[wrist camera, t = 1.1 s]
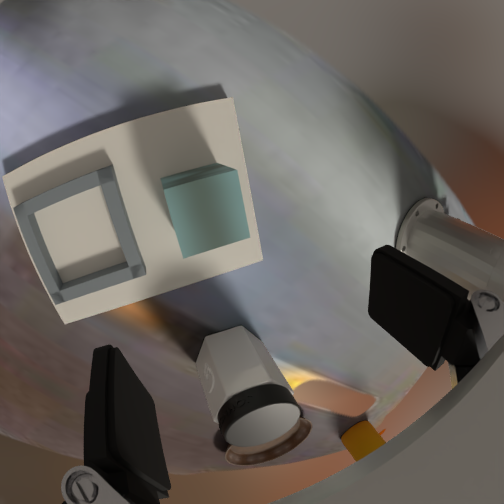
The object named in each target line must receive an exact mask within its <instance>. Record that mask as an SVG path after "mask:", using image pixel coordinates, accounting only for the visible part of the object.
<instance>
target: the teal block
mask: <svg viewBox="0 0 504 504" xmlns="http://www.w3.org/2000/svg"><path fill="white" fill-rule="evenodd" d="M161 182H162V186H163V190H164V194H165V198H166V201H167V205H168V209H169V212H170V216H171V219H172V223H173V226H174V229H175V233H176V236H177V239H178V243H179V246H180V249H181V253H182V256H183V259H184V258H187V257H190V256H194V255H197V254H200V253H203V252H206V251H209V250H212V249H216V248H219V247H222V246H225V245H228V244H231V243H235V242H238V241H241V240H244V239H247V238H250V233H249V228H248V223H247V217H246V212H245V207H244V202H243V197H242V192H241V187H240V182H239V176H238V171H237V170H236V169H234V168H231V167H228V166H225V165H222V164H219V163H214V164H210V165H206V166H202V167H198V168H195V169H191V170H187V171H184V172H180V173H177V174H173V175H170V176H166V177H163V178H161Z"/></svg>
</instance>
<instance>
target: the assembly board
mask: <svg viewBox="0 0 504 504" xmlns="http://www.w3.org/2000/svg"><path fill="white" fill-rule="evenodd" d="M214 163H219V164H222V165H225V166H228V167H231V168H234V169H236V170H237V171H238V176H239V182H240V187H241V192H242V197H243V202H244V207H245V212H246V217H247V223H248V228H249V233H250V238H247V239H244V240H241V241H238V242H235V243H231V244H228V245H225V246H222V247H219V248H216V249H212V250H209V251H206V252H203V253H200V254H197V255H194V256H190V257H187V258H184V259H183V256H182V253H181V249H180V246H179V243H178V239H177V236H176V233H175V229H174V226H173V223H172V219H171V216H170V212H169V209H168V205H167V201H166V198H165V194H164V190H163V186H162V182H161V178H163V177H166V176H170V175H173V174H177V173H180V172H184V171H187V170H191V169H195V168H198V167H202V166H206V165H210V164H214ZM3 181H4V185H5V188H6V192H7V195H8V199H9V202H10V205H11V208H12V211H13V214H14V217H15V220H16V223H17V226H18V228H19V231H20V234H21V236H22V239H23V241H24V244H25V246H26V249H27V251H28V253H29V256H30V258H31V260H32V263H33V265H34V267H35V269H36V271H37V273H38V275H39V278H40V280H41V282H42V284H43V286H44V288H45V290H46V292H47V293H48V295H49V297H50V299H51V301H52V303H53V305H54V306H55V308H56V310H57V312H58V313H59V315H60V317H61V319H62V320H63V322H64V324H67V323H71V322H74V321H77V320H80V319H83V318H87V317H90V316H93V315H96V314H99V313H102V312H106V311H109V310H112V309H115V308H118V307H121V306H125V305H128V304H131V303H134V302H137V301H140V300H143V299H146V298H150V297H153V296H156V295H159V294H162V293H165V292H168V291H171V290H174V289H177V288H180V287H184V286H187V285H190V284H193V283H196V282H199V281H202V280H205V279H208V278H211V277H214V276H217V275H220V274H223V273H226V272H229V271H232V270H235V269H238V268H241V267H244V266H247V265H250V264H253V263H256V262H259V261H262V260H263V257H262V251H261V246H260V240H259V235H258V229H257V224H256V218H255V213H254V207H253V202H252V196H251V191H250V186H249V180H248V175H247V169H246V164H245V159H244V153H243V148H242V143H241V138H240V132H239V127H238V122H237V117H236V112H235V106H234V101H233V97H231V98H225V99H219V100H213V101H208V102H203V103H198V104H193V105H189V106H184V107H180V108H176V109H171V110H167V111H164V112H160V113H156V114H152V115H149V116H145V117H142V118H138V119H135V120H132V121H129V122H126V123H122V124H119V125H116V126H113V127H110V128H108V129H105V130H102V131H99V132H97V133H94V134H91V135H89V136H86V137H83V138H81V139H78V140H76V141H74V142H71V143H69V144H66V145H64V146H62V147H60V148H57V149H55V150H53V151H51V152H49V153H46V154H44V155H42V156H40V157H38V158H36V159H34V160H32V161H30V162H28V163H26V164H24V165H22V166H21V167H19V168H17V169H15V170H13V171H11V172H10V173H8V174H6V175H4V176H3Z"/></svg>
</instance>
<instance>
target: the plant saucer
mask: <svg viewBox="0 0 504 504" xmlns="http://www.w3.org/2000/svg"><path fill="white" fill-rule="evenodd" d="M311 430H312V423H311V422H310V421H309V420H307V419H305V418H303V417H300V418H299V420H298V421H297V423H296V424H295V425H294V426H293V427H292V428H291V429H290V430H289V431H288V432H286V433H285V434H283V435H282V436H280V437H278V438H277V439H275V440H272V441H270V442H268V443H265V444H261V445H257V446H252V447H237V446H233V445H231V444H229V445H228V447H227V449H226V453H225V459H226V461H227V462H228V463H230V464H233V465H238V466H248V465H255V464H260V463H264V462H267V461H270V460H273V459H275V458H278V457H280V456H282V455H284V454H286V453H288V452H290V451H291V450H293V449H294V448H296V447H297V446H298V445H300V444H301V443H302V442H303V441H304V440H305V439H306V438H307V437H308V435H309V434H310V432H311Z"/></svg>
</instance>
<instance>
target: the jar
mask: <svg viewBox="0 0 504 504" xmlns="http://www.w3.org/2000/svg"><path fill="white" fill-rule="evenodd" d="M196 367H197V371H198V374H199V377H200V381H201V384H202V387H203V391H204V394H205V397H206V400H207V403H208V406H209V409H210V412H211V415H212V418H213V421H214V422H216V423H219V428H220V430H221V433H222V434H223V436H224V439H225V440H226V442H228V443H229V444H231V445H233V446H237V447H252V446H257V445H261V444H265V443H268V442H270V441H272V440H275V439H277V438H278V437H280V436H282V435H283V434H285V433H286V432H288V431H289V430H290V429H291V428H292V427H293V426H294V425H295V424H296V423H297V421H298V420H299V418H300V415H301V409H300V407H299V405H298V403H297V402H296V400H295V399H294V397H293V394H294V392H293V390H292V389H291V387H290V385H289V384H288V382H287V381H286V379H285V377H284V376H283V374H282V373H281V371H280V369H279V368H278V366H277V365H276V363H275V361H274V360H273V358H272V357H271V355H270V353H269V352H268V350H267V348H266V347H265V345H264V343H263V342H262V341H261V340H259V339H258V338H257V337H256V336H254V335H253V334H252V333H251V332H249V331H248V330H247V329H246V328H244V327H243V326H237V327H234V328H231V329H228V330H225V331H222V332H218V333H215V334H212V335H208V336H206V337H205V338H204V341H203V344H202V347H201V350H200V352H199V355H198V358H197V361H196Z"/></svg>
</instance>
